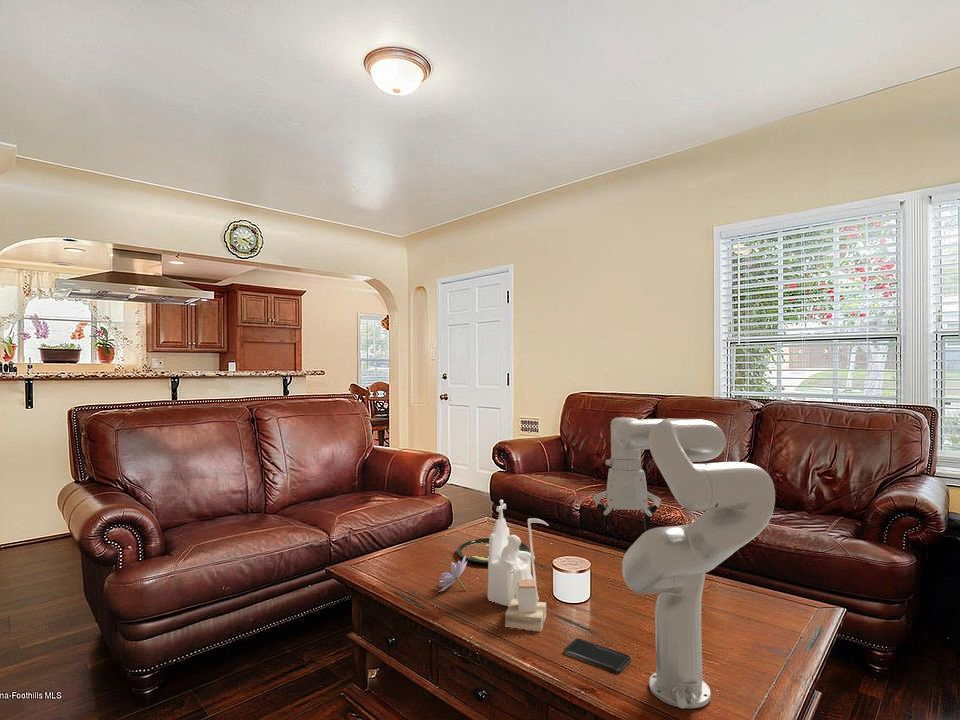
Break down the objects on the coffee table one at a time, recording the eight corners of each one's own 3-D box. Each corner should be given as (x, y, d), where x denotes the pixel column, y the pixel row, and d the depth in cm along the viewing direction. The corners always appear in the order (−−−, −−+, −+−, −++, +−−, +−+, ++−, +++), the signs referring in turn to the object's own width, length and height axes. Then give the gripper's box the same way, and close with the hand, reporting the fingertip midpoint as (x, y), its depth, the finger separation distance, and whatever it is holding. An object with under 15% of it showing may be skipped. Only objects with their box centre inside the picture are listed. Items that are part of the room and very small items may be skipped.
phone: (618, 671, 121) (562, 650, 131) (618, 676, 121) (562, 654, 131) (632, 656, 127) (577, 637, 137) (632, 661, 127) (577, 641, 137)
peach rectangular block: (536, 612, 145) (536, 586, 145) (518, 612, 145) (518, 586, 145) (534, 603, 150) (534, 578, 150) (517, 603, 150) (517, 579, 150)
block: (541, 633, 142) (541, 618, 142) (505, 629, 144) (505, 614, 144) (546, 616, 151) (546, 602, 151) (512, 612, 154) (512, 598, 154)
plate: (541, 550, 206) (541, 544, 206) (508, 574, 182) (507, 567, 183) (481, 539, 221) (481, 533, 221) (442, 560, 197) (442, 553, 197)
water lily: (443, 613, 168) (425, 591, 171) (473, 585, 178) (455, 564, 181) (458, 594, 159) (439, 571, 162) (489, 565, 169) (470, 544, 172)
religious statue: (522, 614, 152) (523, 511, 152) (484, 602, 160) (485, 503, 160) (551, 593, 166) (551, 499, 166) (514, 583, 174) (515, 492, 174)
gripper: (593, 466, 136) (594, 532, 136) (662, 467, 133) (664, 535, 133) (591, 461, 144) (593, 524, 143) (657, 462, 141) (658, 526, 140)
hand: (627, 529), depth 138 cm, fingers open, 9 cm apart
